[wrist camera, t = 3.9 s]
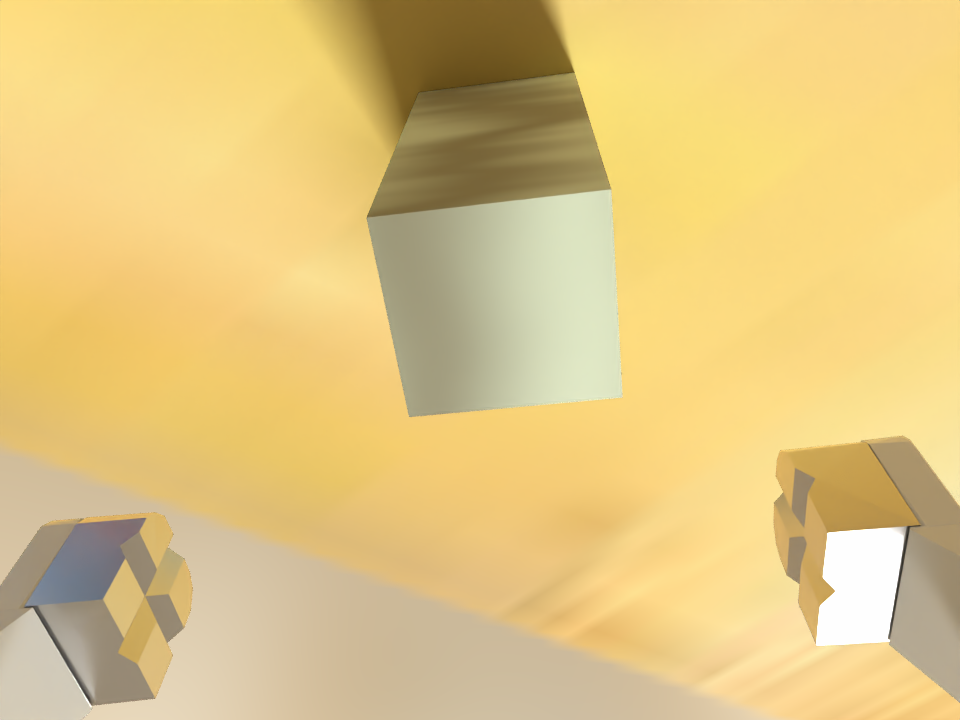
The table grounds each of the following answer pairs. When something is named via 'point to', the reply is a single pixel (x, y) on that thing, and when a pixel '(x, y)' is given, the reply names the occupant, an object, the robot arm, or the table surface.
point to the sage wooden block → (499, 250)
